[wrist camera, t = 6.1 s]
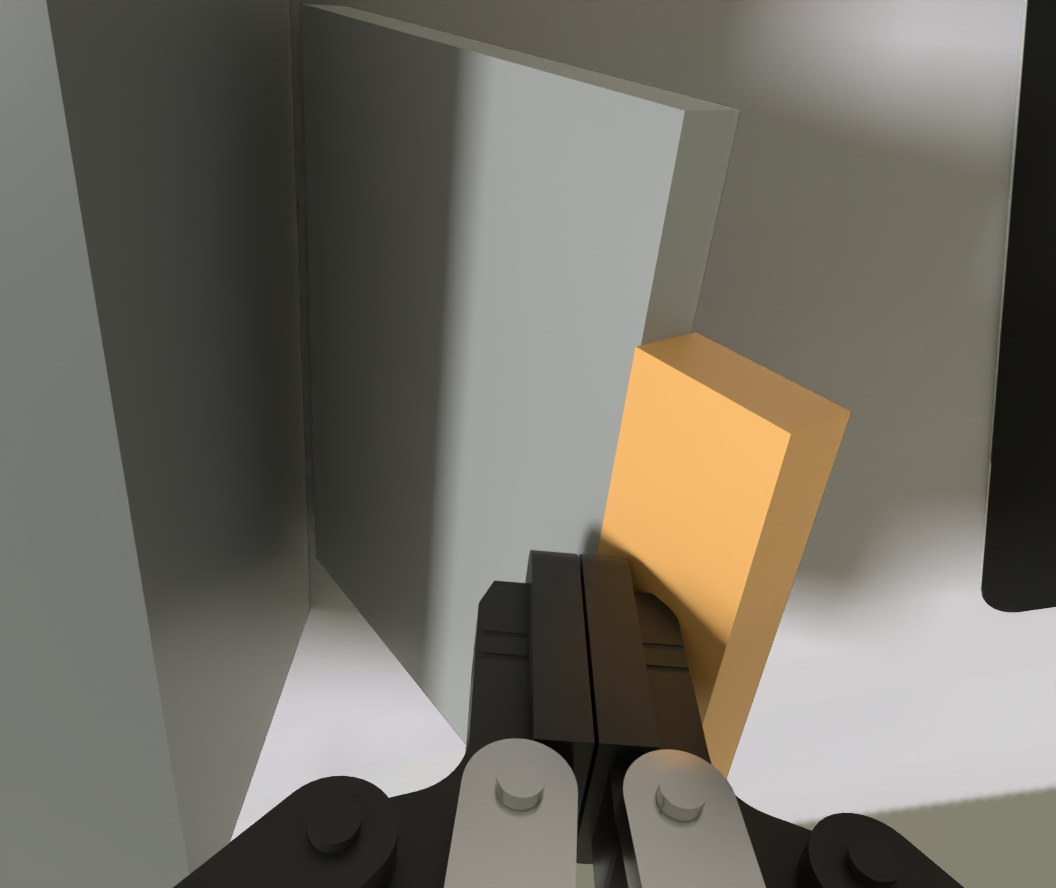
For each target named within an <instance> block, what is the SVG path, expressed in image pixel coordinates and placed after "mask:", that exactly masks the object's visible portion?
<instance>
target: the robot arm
mask: <svg viewBox="0 0 1056 888" xmlns="http://www.w3.org/2000/svg"><path fill="white" fill-rule="evenodd" d="M576 863H582V864H593V869H594V882H595V888H964V887H963V886H961V885H960V884H959V883H958V882H957V881H955V880H954V879H953V878H952V877H951V876H949V875H948V874H947V873H946V872H945V871H943V870H942V869H941V868H940V867H939V866H937V865H936V864H935V863H934V862H933V861H932V860H930V859H929V858H928V857H927V856H925V855H924V854H923V853H922V852H921V851H920V850H918V849H917V848H916V847H915V846H914V845H913V844H911V843H910V842H909V841H908V840H907V839H905V838H904V837H903V836H901V835H900V834H899V833H898V832H896V831H895V830H894V829H892V828H891V827H889V826H887V825H886V824H884V823H882V822H880V821H878V820H876V819H873V818H870V817H867V816H864V815H860V814H854V813H839V814H833V815H830V816H828V817H825V818H824V819H822V820H821V821H819V822H818V824H817V825H816V826H815V827H814V829H813V830H812V831H811V830H808V829H806V828H803V827H800V826H797V825H795V824H792V823H789V822H786V821H784V820H781V819H778V818H775V817H773V816H770V815H768V814H765V813H763V812H761V811H758V810H756V809H755V808H753V807H751V806H749V805H748V804H746V803H745V802H743V801H742V800H741V799H739V798H738V797H737V796H736V795H735V793H734V791H733V789H732V787H731V786H730V784H729V782H728V781H727V779H726V778H725V777H724V776H723V775H722V774H721V772H719V771H718V770H717V769H716V768H715V767H714V766H713V765H712V763H711V760H710V757H709V753H708V748H707V744H706V740H705V735H704V731H703V726H702V722H701V718H700V713H699V709H698V704H697V700H696V695H695V691H694V687H693V682H692V678H691V674H689V665H688V660H687V656H686V651H684V643H683V638H682V634H681V629H680V625H679V621H678V618H677V617H676V615H675V614H674V613H673V611H672V610H671V609H670V608H669V607H668V606H667V605H666V604H665V603H663V602H662V601H661V600H660V599H659V598H657V597H656V596H655V595H654V594H653V593H641V592H634V591H633V585H632V579H631V573H630V567H629V562H628V559H627V558H623V557H612V556H600V555H588V554H579V556H578V554H574V553H563V552H551V551H539V550H530V554H529V559H528V566H527V573H526V580H525V583H518V582H506V581H494V582H493V583H492V584H491V586H490V587H489V589H488V590H487V592H486V593H485V595H484V596H483V597H482V599H481V600H480V602H479V605H478V615H477V625H476V634H475V644H474V653H473V663H472V673H471V685H470V699H469V712H468V727H467V739H466V753H465V756H464V757H463V759H462V761H461V763H460V764H459V765H458V766H457V768H456V769H455V770H454V771H453V772H452V773H451V774H450V775H449V776H447V777H446V778H445V779H443V780H442V781H440V782H439V783H437V784H435V785H433V786H431V787H428V788H426V789H423V790H419V791H416V792H412V793H408V794H403V795H399V796H395V797H391V798H388V796H387V795H386V794H385V793H384V792H383V791H382V790H381V789H379V788H378V787H377V786H375V785H374V784H372V783H370V782H368V781H365V780H363V779H359V778H356V777H349V776H332V777H326V778H321V779H318V780H315V781H312V782H310V783H308V784H306V785H304V786H302V787H301V788H299V789H298V790H296V791H295V792H293V793H292V794H291V795H289V796H288V797H287V798H286V799H284V800H283V801H282V802H281V803H279V804H278V805H277V806H276V807H274V808H273V809H272V810H270V811H269V812H268V813H267V814H265V815H264V816H263V817H262V818H260V819H259V820H258V821H257V822H255V823H254V824H253V825H251V826H250V827H249V828H248V829H246V830H245V831H244V832H243V833H241V834H240V835H239V836H238V837H236V838H235V839H234V840H232V841H231V842H230V843H229V844H227V845H226V846H225V847H224V848H222V849H221V850H220V851H219V852H217V853H216V854H215V855H213V856H212V857H211V858H210V859H208V860H207V861H206V862H205V863H203V864H202V865H201V866H200V867H198V868H197V869H196V870H194V871H193V872H192V873H191V874H189V875H188V876H187V877H186V878H184V879H183V880H182V881H181V882H179V883H178V884H177V885H176V886H174V887H173V888H576Z"/></svg>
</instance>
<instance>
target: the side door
mask: <svg viewBox="0 0 1056 888" xmlns="http://www.w3.org/2000/svg"><path fill="white" fill-rule="evenodd" d="M301 34H302V70H303V106H304V141H305V177H306V212H307V248H308V283H309V319H310V354H311V390H312V425H313V461H314V496H315V532H316V558H317V559H318V560H319V561H320V563H321V564H322V565H323V567H324V568H325V569H326V570H327V572H328V573H329V574H330V575H331V577H332V578H333V579H334V580H335V582H336V583H337V584H338V585H339V587H340V588H341V589H342V590H343V592H344V593H345V594H346V595H347V597H348V598H349V599H350V600H351V602H352V603H353V604H354V605H355V607H356V608H357V609H358V610H359V612H360V613H361V614H362V615H363V617H364V618H365V619H366V620H367V622H368V623H369V624H370V625H371V627H372V628H373V629H374V630H375V632H376V633H377V634H378V635H379V637H380V638H381V639H382V641H383V642H384V643H385V644H386V646H387V647H388V648H389V649H390V651H391V652H392V653H393V654H394V656H395V657H396V658H397V659H398V661H399V662H400V663H401V664H402V666H403V667H404V668H405V669H406V671H407V672H408V673H409V674H410V676H411V677H412V678H413V679H414V681H415V682H416V683H417V684H418V686H419V687H420V688H421V689H422V691H423V692H424V693H425V694H426V696H427V697H428V698H429V699H430V701H431V702H432V703H433V704H434V706H435V707H436V708H437V709H438V711H439V712H440V713H441V714H442V716H443V717H444V718H445V720H446V721H447V722H448V723H449V725H450V726H451V727H452V728H453V730H454V731H455V732H456V733H457V735H458V736H459V737H460V738H461V740H462V741H463V742H464V743H465V745H466V739H467V727H468V712H469V699H470V685H471V673H472V663H473V653H474V644H475V634H476V625H477V615H478V605H479V602H480V600H481V599H482V597H483V596H484V595H485V593H486V592H487V590H488V589H489V587H490V586H491V584H492V583H493V582H494V581H506V582H518V583H525V580H526V573H527V566H528V559H529V554H530V550H539V551H551V552H563V553H574V554H578V556H579V554H588V555H600V556H612V557H623V558H627V559H628V562H629V567H630V573H631V579H632V585H633V591H634V592H641V593H653V594H654V595H655V596H656V597H657V598H659V599H660V600H661V601H662V602H663V603H665V604H666V605H667V606H668V607H669V608H670V609H671V610H672V611H673V613H674V614H675V615H676V617H677V618H678V621H679V625H680V629H681V634H682V638H683V643H684V651H686V656H687V660H688V665H689V674H691V678H692V682H693V687H694V691H695V695H696V700H697V704H698V709H699V713H700V718H701V722H702V726H703V731H704V735H705V740H706V744H707V748H708V753H709V757H710V760H711V763H712V765H713V766H714V767H715V768H716V769H717V770H718V771H719V772H721V774H722V775H723V776H724V777H725V778H726V779H727V776H728V773H729V770H730V767H731V764H732V761H733V758H734V755H735V752H736V749H737V746H738V743H739V740H740V738H741V735H742V732H743V729H744V726H745V723H746V720H747V717H748V714H749V711H750V708H751V705H752V702H753V699H754V696H755V694H756V691H757V688H758V685H759V682H760V679H761V676H762V673H763V670H764V667H765V664H766V661H767V658H768V655H769V652H770V650H771V647H772V644H773V641H774V638H775V635H776V632H777V629H778V626H779V623H780V620H781V617H782V614H783V611H784V608H785V606H786V603H787V600H788V597H789V594H790V591H791V588H792V585H793V582H794V579H795V576H796V573H797V570H798V567H799V564H800V562H801V559H802V556H803V553H804V550H805V547H806V544H807V541H808V538H809V535H810V532H811V529H812V526H813V523H814V520H815V518H816V515H817V512H818V509H819V506H820V503H821V500H822V497H823V494H824V491H825V488H826V485H827V482H828V479H829V476H830V474H831V471H832V468H833V465H834V462H835V459H836V456H837V453H838V450H839V447H840V444H841V441H842V438H843V435H844V432H845V430H846V427H847V424H848V421H849V418H850V415H851V412H852V411H850V410H848V409H846V408H844V407H842V406H840V405H838V404H836V403H834V402H832V401H830V400H828V399H826V398H824V397H822V396H820V395H818V394H816V393H814V392H812V391H811V390H809V389H807V388H805V387H803V386H801V385H799V384H797V383H795V382H793V381H791V380H789V379H787V378H785V377H783V376H781V375H779V374H777V373H775V372H773V371H771V370H769V369H767V368H765V367H764V366H762V365H760V364H758V363H756V362H754V361H752V360H750V359H748V358H746V357H744V356H742V355H740V354H738V353H736V352H734V351H732V350H730V349H728V348H726V347H724V346H722V345H720V344H718V343H717V342H715V341H713V340H711V339H709V338H707V337H705V336H703V335H701V334H699V333H697V332H695V333H692V328H693V324H694V319H695V315H696V310H697V306H698V301H699V297H700V292H701V287H702V283H703V278H704V274H705V269H706V265H707V260H708V256H709V251H710V246H711V242H712V237H713V233H714V228H715V224H716V219H717V215H718V210H719V205H720V201H721V196H722V192H723V187H724V183H725V178H726V174H727V169H728V164H729V160H730V155H731V151H732V146H733V142H734V137H735V133H736V128H737V123H738V119H739V114H740V109H736V108H732V107H728V106H725V105H721V104H717V103H713V102H709V101H706V100H702V99H698V98H694V97H690V96H687V95H683V94H679V93H675V92H671V91H667V90H664V89H660V88H656V87H652V86H648V85H645V84H641V83H637V82H633V81H629V80H626V79H622V78H618V77H614V76H610V75H607V74H603V73H599V72H595V71H591V70H588V69H584V68H580V67H576V66H572V65H569V64H565V63H561V62H557V61H553V60H550V59H546V58H542V57H538V56H534V55H531V54H527V53H523V52H519V51H515V50H511V49H508V48H504V47H500V46H496V45H492V44H489V43H485V42H481V41H477V40H473V39H470V38H466V37H462V36H458V35H454V34H451V33H447V32H443V31H439V30H435V29H432V28H428V27H424V26H420V25H416V24H413V23H409V22H405V21H401V20H397V19H394V18H390V17H386V16H382V15H378V14H374V13H371V12H367V11H363V10H359V9H355V8H352V7H348V6H336V5H320V4H303V3H301Z"/></svg>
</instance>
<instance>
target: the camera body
mask: <svg viewBox="0 0 1056 888" xmlns="http://www.w3.org/2000/svg"><path fill="white" fill-rule="evenodd" d="M309 612H310V590H309V561H308V532H307V502H306V473H305V444H304V415H303V385H302V356H301V327H300V297H299V268H298V239H297V209H296V180H295V151H294V121H293V92H292V63H291V33H290V4H289V0H0V888H173V887H174V886H176V885H177V884H178V883H179V882H181V881H182V880H183V879H184V878H186V877H187V876H188V875H189V874H191V873H192V872H193V871H194V870H196V869H197V868H198V867H200V866H201V865H202V864H203V863H205V862H206V861H207V860H208V859H210V858H211V857H212V856H213V855H215V854H216V853H217V852H219V851H220V850H221V849H222V848H224V847H225V846H226V845H227V844H229V843H230V840H231V837H232V834H233V831H234V829H235V826H236V823H237V820H238V817H239V814H240V811H241V808H242V805H243V802H244V800H245V797H246V794H247V791H248V788H249V785H250V782H251V779H252V776H253V774H254V771H255V768H256V765H257V762H258V759H259V756H260V753H261V750H262V748H263V745H264V742H265V739H266V736H267V733H268V730H269V727H270V724H271V721H272V719H273V716H274V713H275V710H276V707H277V704H278V701H279V698H280V695H281V693H282V690H283V687H284V684H285V681H286V678H287V675H288V672H289V669H290V666H291V664H292V661H293V658H294V655H295V652H296V649H297V646H298V643H299V640H300V638H301V635H302V632H303V629H304V626H305V623H306V620H307V617H308V614H309Z"/></svg>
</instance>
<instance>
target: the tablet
mask: <svg viewBox="0 0 1056 888" xmlns="http://www.w3.org/2000/svg"><path fill="white" fill-rule="evenodd" d="M980 591H981V595H982V597H983V599H984V600H985V602H986V603H987V604H988V605H990V606H991V607H993V608H994V609H997V610H1000V611H1004V612H1022V611H1029V610H1036V609H1043V608H1050V607H1056V0H1023V10H1022V24H1021V37H1020V51H1019V64H1018V78H1017V92H1016V105H1015V119H1014V132H1013V146H1012V160H1011V173H1010V187H1009V200H1008V214H1007V227H1006V241H1005V255H1004V268H1003V282H1002V295H1001V309H1000V323H999V336H998V350H997V363H996V377H995V390H994V404H993V418H992V431H991V445H990V458H989V472H988V486H987V499H986V513H985V526H984V540H983V553H982V567H981V581H980Z"/></svg>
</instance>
